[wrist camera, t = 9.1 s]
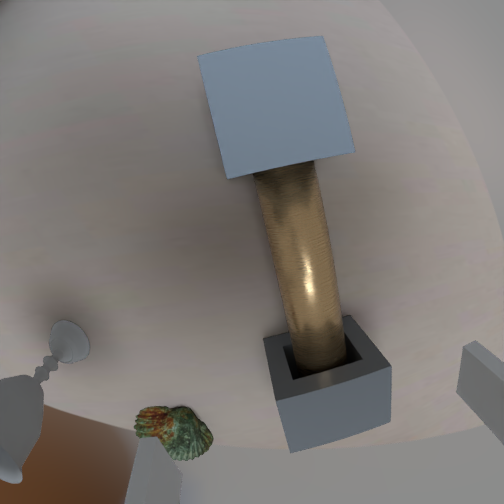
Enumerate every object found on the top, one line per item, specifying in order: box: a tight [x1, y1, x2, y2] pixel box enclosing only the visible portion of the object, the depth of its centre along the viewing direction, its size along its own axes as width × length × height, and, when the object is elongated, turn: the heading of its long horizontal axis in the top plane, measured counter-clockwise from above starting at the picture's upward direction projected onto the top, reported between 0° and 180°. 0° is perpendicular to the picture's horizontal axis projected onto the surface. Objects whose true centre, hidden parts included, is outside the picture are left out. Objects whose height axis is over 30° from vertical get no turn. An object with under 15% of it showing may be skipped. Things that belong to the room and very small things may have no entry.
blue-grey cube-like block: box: [197, 36, 355, 179], centre depth 22 cm, size 8×8×9 cm
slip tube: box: [253, 160, 347, 378], centre depth 24 cm, size 22×4×4 cm, turn 13°
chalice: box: [0, 320, 90, 483], centre depth 21 cm, size 7×7×18 cm
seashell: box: [134, 406, 213, 461], centre depth 32 cm, size 10×4×10 cm
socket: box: [263, 315, 392, 453], centre depth 27 cm, size 6×9×10 cm
